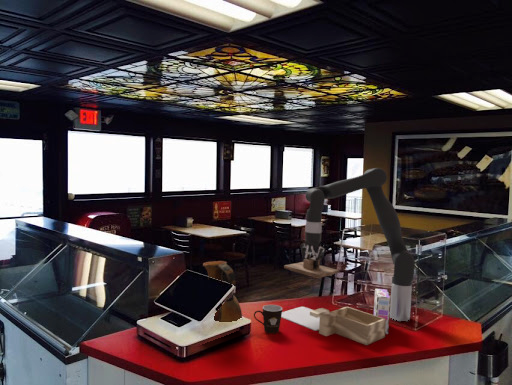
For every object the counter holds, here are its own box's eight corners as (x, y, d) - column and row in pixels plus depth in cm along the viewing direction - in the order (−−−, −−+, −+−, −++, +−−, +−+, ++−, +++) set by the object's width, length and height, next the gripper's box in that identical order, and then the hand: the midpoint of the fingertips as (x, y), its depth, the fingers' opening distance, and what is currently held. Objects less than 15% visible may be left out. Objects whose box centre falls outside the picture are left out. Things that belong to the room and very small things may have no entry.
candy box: (388, 334, 189) (390, 297, 188) (374, 332, 191) (376, 296, 190) (385, 323, 203) (387, 289, 202) (372, 322, 204) (374, 287, 203)
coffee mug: (283, 328, 191) (284, 306, 190) (278, 335, 183) (279, 312, 182) (258, 324, 194) (259, 302, 194) (252, 331, 186) (253, 308, 186)
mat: (302, 307, 221) (302, 306, 221) (342, 321, 203) (343, 320, 203) (275, 315, 208) (275, 314, 208) (315, 331, 190) (315, 330, 190)
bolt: (321, 311, 187) (321, 307, 187) (329, 313, 184) (329, 310, 184) (309, 315, 182) (309, 311, 182) (317, 317, 179) (317, 314, 179)
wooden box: (346, 323, 201) (347, 306, 200) (384, 337, 186) (386, 318, 186) (318, 333, 187) (319, 315, 187) (358, 349, 173) (359, 329, 172)
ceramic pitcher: (215, 319, 199) (218, 254, 197) (251, 330, 187) (254, 262, 185) (185, 331, 183) (187, 261, 181) (221, 344, 171) (224, 270, 169)
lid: (304, 265, 217) (305, 253, 216) (338, 274, 202) (339, 261, 201) (283, 269, 207) (284, 257, 206) (318, 279, 191) (319, 265, 191)
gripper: (296, 229, 206) (294, 265, 207) (320, 233, 195) (318, 271, 196) (306, 228, 211) (305, 263, 212) (330, 232, 200) (328, 269, 201)
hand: (311, 267), depth 204 cm, fingers closed on lid, 4 cm apart
